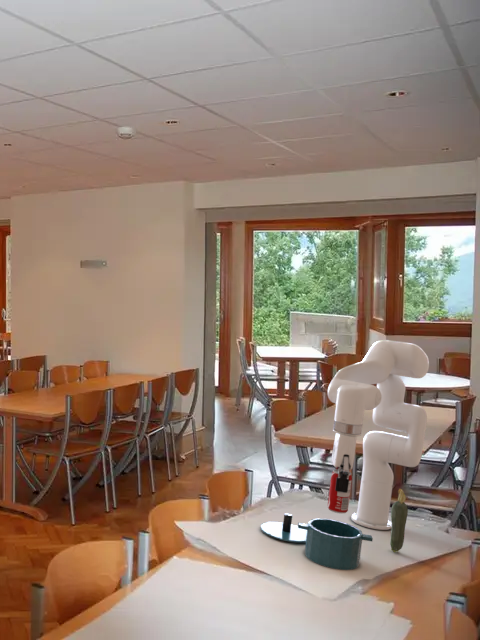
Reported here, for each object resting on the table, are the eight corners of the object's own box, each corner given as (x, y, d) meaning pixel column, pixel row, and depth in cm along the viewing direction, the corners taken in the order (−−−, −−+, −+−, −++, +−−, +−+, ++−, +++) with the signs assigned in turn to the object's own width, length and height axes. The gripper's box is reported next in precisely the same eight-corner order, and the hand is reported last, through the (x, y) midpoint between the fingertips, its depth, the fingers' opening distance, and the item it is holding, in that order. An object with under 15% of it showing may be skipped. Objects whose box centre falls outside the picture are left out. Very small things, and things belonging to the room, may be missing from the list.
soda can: (331, 505, 223) (336, 466, 221) (350, 511, 219) (355, 471, 217) (324, 509, 219) (329, 469, 217) (343, 515, 215) (348, 475, 214)
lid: (260, 521, 247) (262, 502, 246) (310, 530, 242) (313, 510, 241) (260, 538, 233) (262, 517, 232) (314, 548, 228) (316, 527, 227)
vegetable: (403, 556, 226) (412, 493, 224) (388, 554, 227) (396, 491, 224) (399, 550, 230) (407, 488, 228) (384, 548, 231) (392, 486, 229)
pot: (294, 543, 230) (297, 513, 229) (365, 556, 224) (368, 526, 223) (296, 561, 217) (300, 530, 216) (372, 576, 210) (376, 543, 209)
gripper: (330, 420, 225) (323, 478, 227) (336, 432, 209) (328, 495, 211) (358, 423, 223) (350, 482, 225) (365, 436, 207) (357, 499, 209)
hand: (340, 487), depth 218 cm, fingers closed on soda can, 5 cm apart
